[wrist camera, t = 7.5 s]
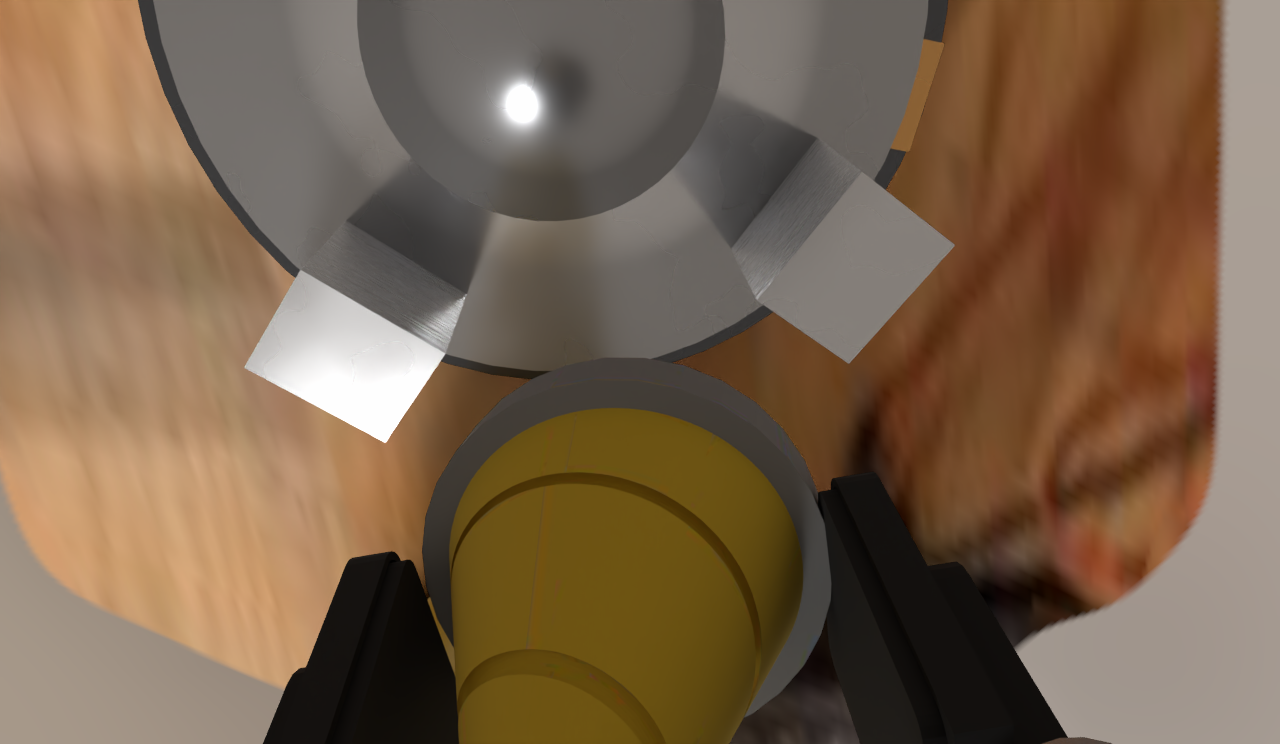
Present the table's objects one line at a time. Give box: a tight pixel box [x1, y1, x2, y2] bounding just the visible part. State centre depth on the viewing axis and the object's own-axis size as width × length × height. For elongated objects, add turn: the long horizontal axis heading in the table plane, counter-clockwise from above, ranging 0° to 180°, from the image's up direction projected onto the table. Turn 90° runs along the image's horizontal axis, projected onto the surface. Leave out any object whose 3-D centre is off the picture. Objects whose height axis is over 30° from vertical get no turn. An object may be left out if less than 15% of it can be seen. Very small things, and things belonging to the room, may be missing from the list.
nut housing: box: [138, 0, 948, 379], centre depth 18 cm, size 17×17×2 cm
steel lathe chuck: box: [153, 0, 955, 442], centre depth 16 cm, size 15×15×4 cm
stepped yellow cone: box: [422, 358, 832, 744], centre depth 10 cm, size 5×5×10 cm
